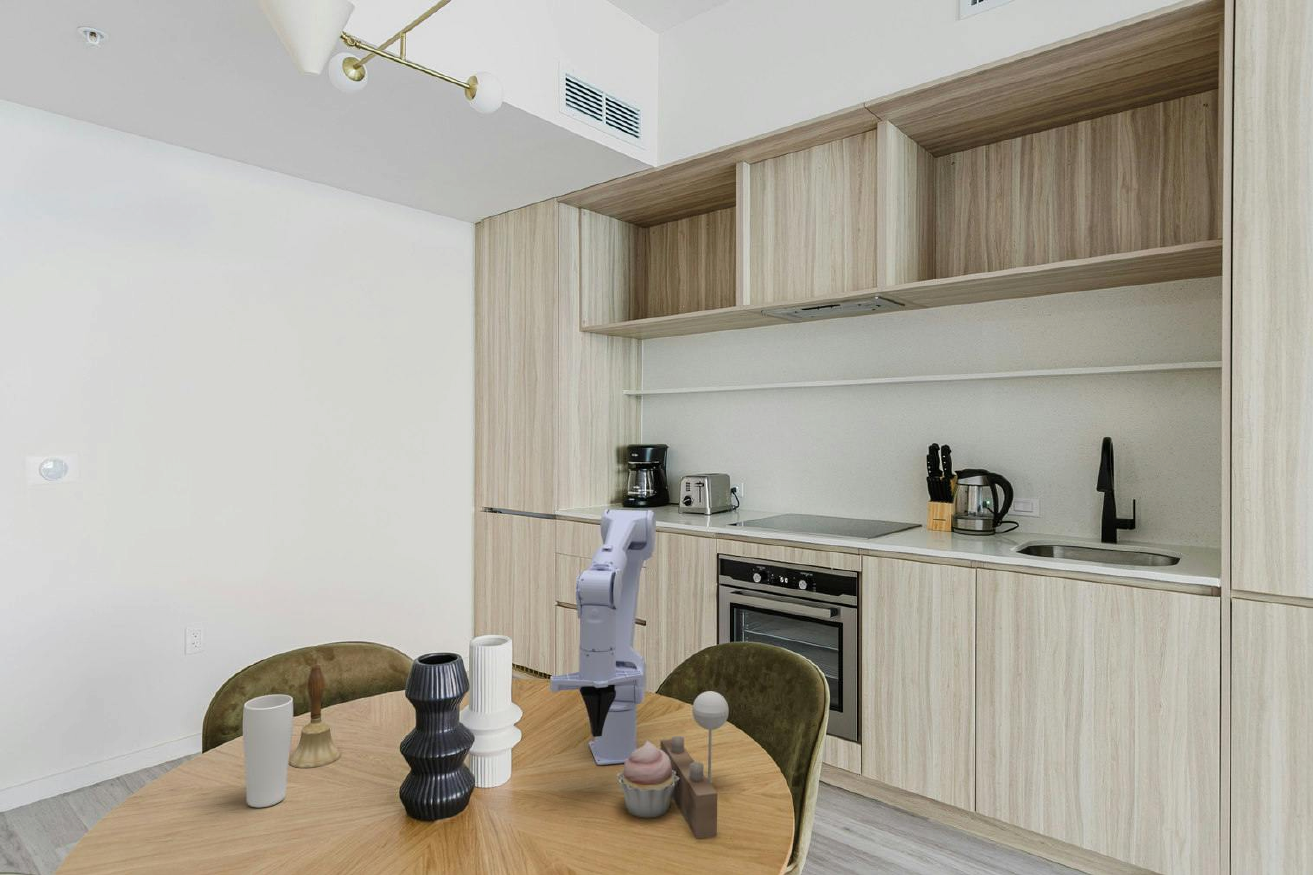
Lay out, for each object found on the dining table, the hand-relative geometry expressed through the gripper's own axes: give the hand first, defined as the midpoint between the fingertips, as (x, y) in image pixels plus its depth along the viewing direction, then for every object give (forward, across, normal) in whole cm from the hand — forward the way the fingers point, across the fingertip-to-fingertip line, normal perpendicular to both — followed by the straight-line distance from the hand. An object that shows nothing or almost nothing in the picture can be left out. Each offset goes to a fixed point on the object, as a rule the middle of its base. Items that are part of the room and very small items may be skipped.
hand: (596, 734), depth 114 cm
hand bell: (+10, -45, +24) cm, 52 cm away
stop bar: (+9, +13, -6) cm, 17 cm away
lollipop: (+10, +18, -1) cm, 21 cm away
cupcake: (+10, +7, -6) cm, 13 cm away
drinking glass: (+10, -49, +9) cm, 51 cm away
